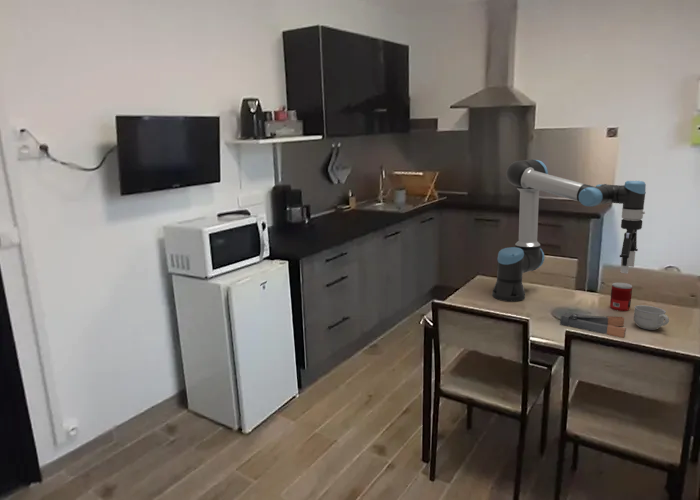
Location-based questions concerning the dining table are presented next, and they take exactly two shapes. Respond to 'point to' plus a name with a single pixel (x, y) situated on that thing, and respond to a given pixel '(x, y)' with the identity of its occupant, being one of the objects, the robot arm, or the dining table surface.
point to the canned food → (621, 296)
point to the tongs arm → (601, 319)
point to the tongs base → (592, 326)
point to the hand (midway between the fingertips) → (627, 269)
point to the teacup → (650, 317)
